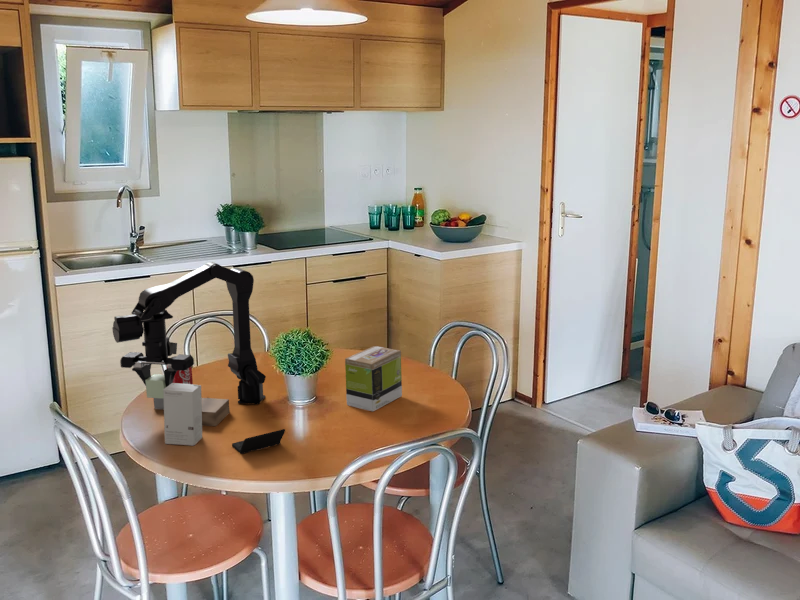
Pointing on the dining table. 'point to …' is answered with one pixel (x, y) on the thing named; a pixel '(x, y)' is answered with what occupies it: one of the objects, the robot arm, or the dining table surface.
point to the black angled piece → (259, 442)
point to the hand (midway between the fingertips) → (159, 391)
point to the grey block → (158, 403)
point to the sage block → (155, 386)
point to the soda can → (183, 376)
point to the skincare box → (182, 414)
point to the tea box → (373, 378)
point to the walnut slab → (214, 411)
